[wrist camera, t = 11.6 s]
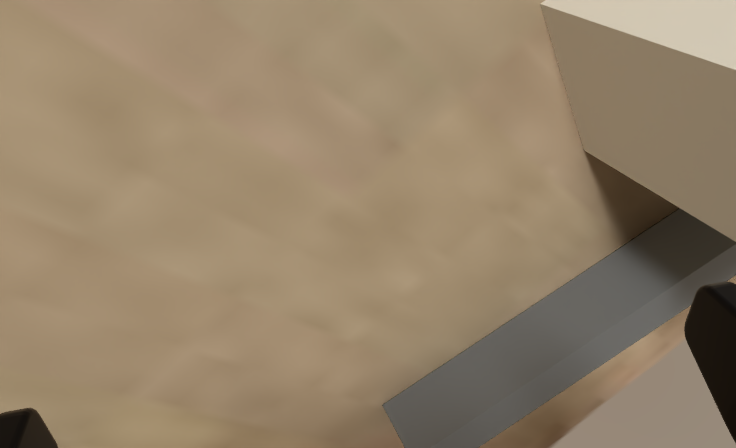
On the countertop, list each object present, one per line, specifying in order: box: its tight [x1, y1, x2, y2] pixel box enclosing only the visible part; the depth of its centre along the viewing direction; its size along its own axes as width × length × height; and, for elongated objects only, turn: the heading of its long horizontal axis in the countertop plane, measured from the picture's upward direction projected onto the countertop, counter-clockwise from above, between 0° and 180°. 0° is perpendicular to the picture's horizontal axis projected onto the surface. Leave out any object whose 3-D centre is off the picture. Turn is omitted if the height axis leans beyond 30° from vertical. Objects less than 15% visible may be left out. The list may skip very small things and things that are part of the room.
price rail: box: [382, 209, 736, 448], centre depth 27 cm, size 22×2×3 cm, turn 117°
